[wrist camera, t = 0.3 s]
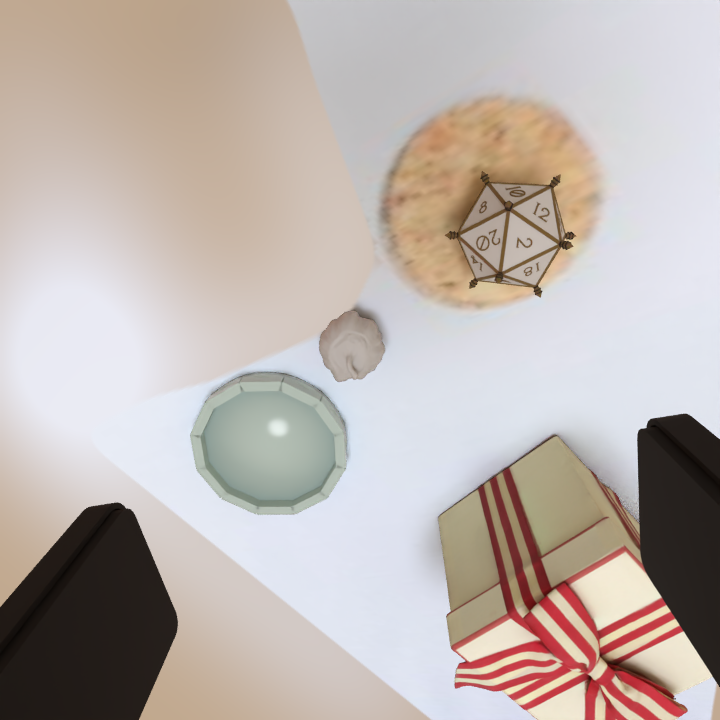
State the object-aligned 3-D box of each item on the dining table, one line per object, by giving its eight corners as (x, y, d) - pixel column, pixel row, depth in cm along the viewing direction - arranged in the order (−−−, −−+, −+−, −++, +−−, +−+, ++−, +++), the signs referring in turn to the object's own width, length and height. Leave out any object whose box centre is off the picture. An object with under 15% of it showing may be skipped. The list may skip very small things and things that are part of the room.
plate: (188, 373, 47) (180, 382, 45) (343, 370, 46) (341, 379, 44) (210, 502, 52) (203, 515, 50) (350, 501, 52) (348, 514, 50)
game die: (485, 245, 46) (457, 330, 40) (451, 159, 40) (413, 244, 35) (596, 227, 40) (580, 322, 35) (574, 126, 35) (551, 220, 30)
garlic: (378, 374, 46) (378, 400, 42) (318, 365, 46) (310, 390, 41) (390, 310, 44) (391, 329, 39) (326, 300, 44) (320, 318, 39)
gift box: (405, 540, 53) (416, 707, 37) (545, 421, 48) (628, 559, 32) (520, 626, 57) (574, 811, 41) (661, 526, 51) (788, 695, 35)
